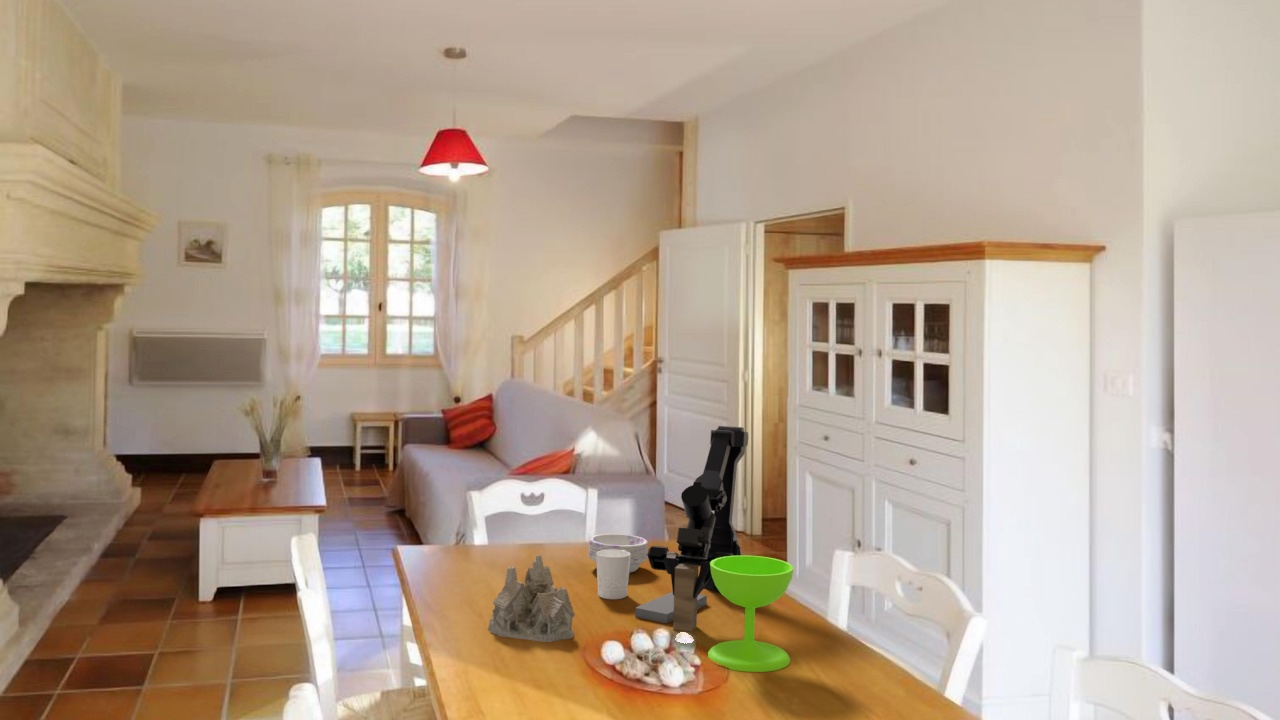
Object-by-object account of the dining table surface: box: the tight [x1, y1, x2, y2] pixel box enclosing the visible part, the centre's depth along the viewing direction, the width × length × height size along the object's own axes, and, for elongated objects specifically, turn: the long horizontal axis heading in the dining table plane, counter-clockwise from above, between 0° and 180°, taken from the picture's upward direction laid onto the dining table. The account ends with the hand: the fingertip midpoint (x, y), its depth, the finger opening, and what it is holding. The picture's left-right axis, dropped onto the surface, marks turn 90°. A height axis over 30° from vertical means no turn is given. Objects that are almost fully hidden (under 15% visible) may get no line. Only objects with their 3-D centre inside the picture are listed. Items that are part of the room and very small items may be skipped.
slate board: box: [634, 591, 708, 624], centre depth 227 cm, size 18×8×2 cm, turn 148°
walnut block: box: [672, 564, 699, 633], centre depth 215 cm, size 4×4×13 cm
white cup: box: [596, 549, 631, 600], centre depth 238 cm, size 8×8×10 cm
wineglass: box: [707, 554, 794, 673], centre depth 197 cm, size 16×16×18 cm
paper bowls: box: [588, 533, 649, 574], centre depth 263 cm, size 15×15×8 cm
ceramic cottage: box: [487, 554, 576, 643], centre depth 209 cm, size 16×16×15 cm
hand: (684, 596), depth 213 cm, fingers closed on walnut block, 4 cm apart
